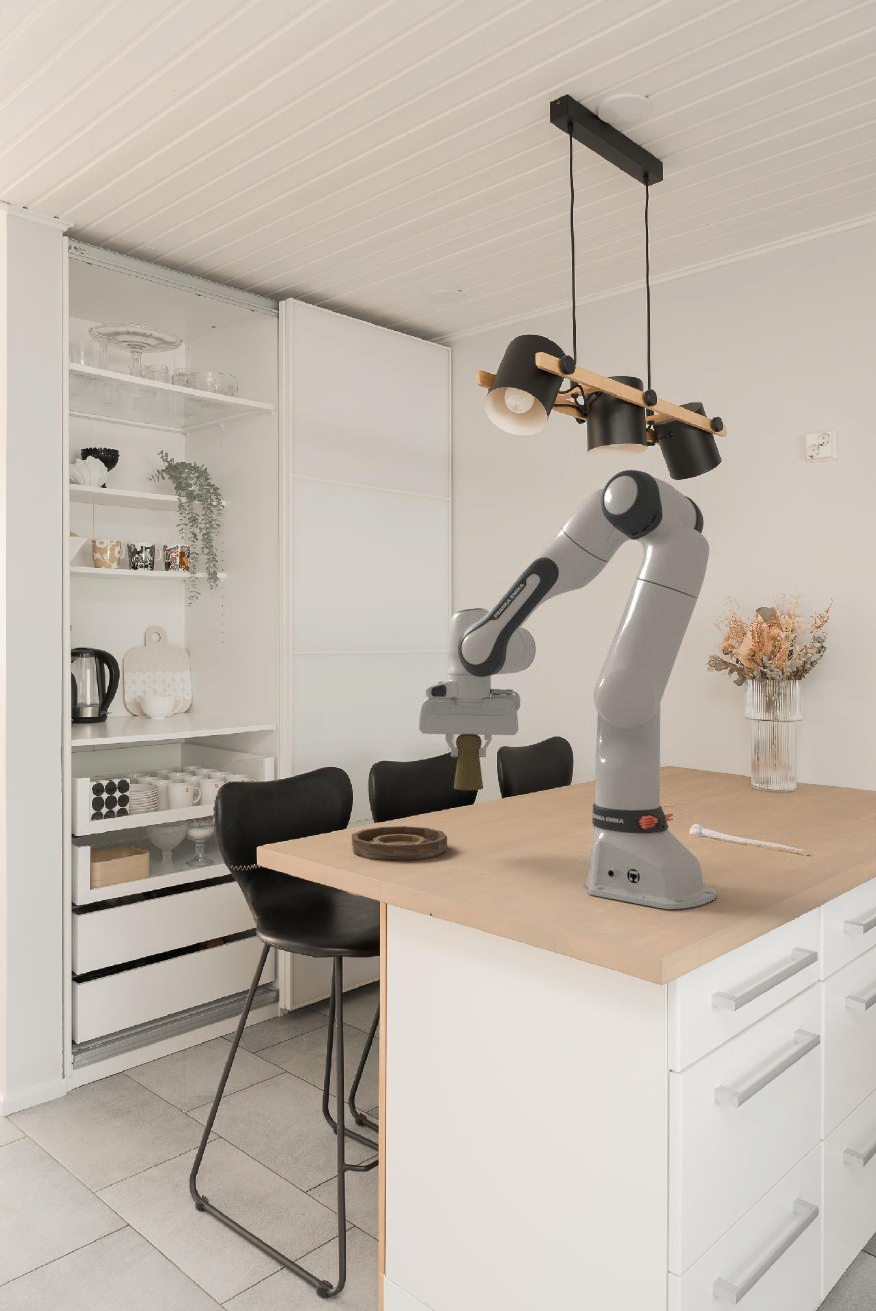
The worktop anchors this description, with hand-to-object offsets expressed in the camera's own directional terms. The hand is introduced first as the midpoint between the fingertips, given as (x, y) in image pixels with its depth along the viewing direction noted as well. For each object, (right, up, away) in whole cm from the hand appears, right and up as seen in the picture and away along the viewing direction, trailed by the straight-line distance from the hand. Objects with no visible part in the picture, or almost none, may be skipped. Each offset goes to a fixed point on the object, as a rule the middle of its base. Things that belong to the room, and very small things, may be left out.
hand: (468, 756), depth 191 cm
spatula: (+60, -20, +9) cm, 64 cm away
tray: (-14, -19, +1) cm, 24 cm away
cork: (0, -7, 0) cm, 7 cm away
